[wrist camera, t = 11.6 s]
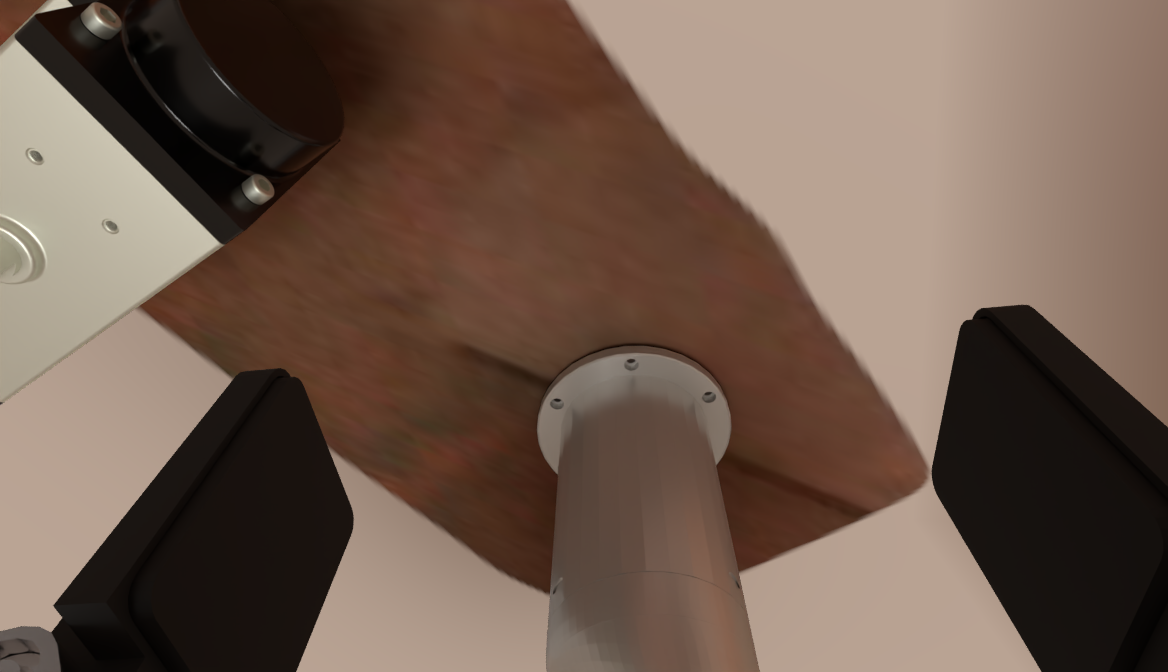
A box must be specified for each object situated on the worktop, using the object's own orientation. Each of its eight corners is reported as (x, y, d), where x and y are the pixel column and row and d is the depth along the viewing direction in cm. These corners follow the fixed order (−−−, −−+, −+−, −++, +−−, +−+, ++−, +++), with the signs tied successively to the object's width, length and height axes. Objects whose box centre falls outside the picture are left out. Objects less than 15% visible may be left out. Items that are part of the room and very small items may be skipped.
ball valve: (290, -96, 30) (-16, -90, 15) (416, 76, 34) (272, 217, 19) (42, 126, 35) (-364, 293, 20) (174, 252, 39) (-86, 471, 24)
